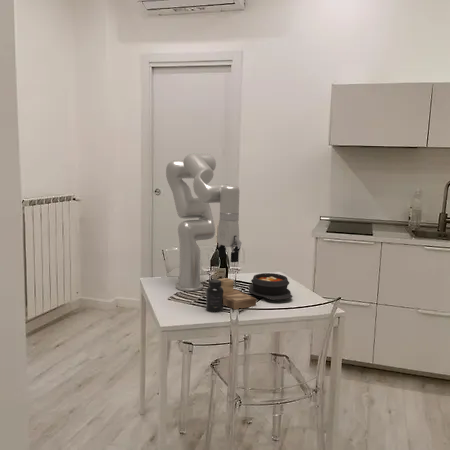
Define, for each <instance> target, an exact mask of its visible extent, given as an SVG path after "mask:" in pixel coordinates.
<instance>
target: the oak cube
mask: <svg viewBox="0 0 450 450" xmlns="http://www.w3.org/2000/svg"><path fill="white" fill-rule="evenodd" d="M217 280H220V281H221V287H222V288H223V293H229V292H233V289H234V282H235V281H234V280H233V279H231V278H228V277H226V278H225V277H224V278H218V279H217Z"/></svg>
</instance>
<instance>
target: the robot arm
mask: <svg viewBox="0 0 450 450" xmlns="http://www.w3.org/2000/svg"><path fill="white" fill-rule="evenodd" d="M216 162H217V161H216V159H215V157H214V156H213V155H212V154H211V153H195V152H194V153H189V154H187V155H186V156H185V157H184V158H183V159H178V160H171V161H170V162H168V163H167V165H166V166H165V167H166V168H165V175H166V176H165V177H166V181H167V183H168V186H169V188H170V190H171V192H172V197H173V200H174V205H175V209H176V213H177V216H178V217H179V218H180V219H184V220H183V221H181V222H180V223H179V224H178V226H177V234H178V240H179V275H178V277H177V279H178V281H179V282H178V283H176V284H175V288H176V289H177V290H180V291H184V292H185V291H186V292H195V291H200V290H202V289H203V288H204V285H203V283H201V249H200V247H199V244H198V243H197V242H198V241H207V240H212V239H213V238H214V237H215V235H216V226H215V221H214V216H213V213H212V209H211V205H210V204H215V203H216V204H218V203H219V221H218V226H217V235H216V242H217V244H218V245H217V248H218V255H217V256H218V258H226V255H227V253H226V252H227V248H230V249H231V252H230V263H237V262H239V257H240V256H239V253H240V249H241V247H242V241H241V240H240V225H239V224H240V223H239V217H240V215H239V214H240V213H239V212H240V188H239V187H238V186H236V185H230V184H225V183H210V182H211V181H212V180H213V178H214V175H215V174H214V171H215V169H216V166H217V163H216ZM184 179H193V182H192V183H193V186H192V187H193V192H194V194H195V195H196V196H197V197H194V196H193V194H192V191H191V188H190V186H189V185H188V184H187V182H185V181H184ZM185 219H187V220H185Z"/></svg>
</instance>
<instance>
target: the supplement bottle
mask: <svg viewBox="0 0 450 450" xmlns="http://www.w3.org/2000/svg"><path fill="white" fill-rule="evenodd" d="M205 293H206V294H205V295H206V300H205V302H206V304H205V310H207V312H209V313H221V312H222V311H223V310H224V304H223V288H222V287H221V281H220V280H218V279H214V278H213V279H209V280H208V287H207V288H206V292H205Z"/></svg>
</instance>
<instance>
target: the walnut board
mask: <svg viewBox="0 0 450 450" xmlns="http://www.w3.org/2000/svg"><path fill="white" fill-rule="evenodd" d="M223 306H225V307H228V308H230V309H232V308H233V309H232V310H234V309H235V310H240V309H239V308H241V309H245V308H251V307H255V306H257V298H256V297H254V296H251V295H249V294H247V293H244V292H242V291H240V290H238V289H236V288H233V292H229V293H223Z"/></svg>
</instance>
